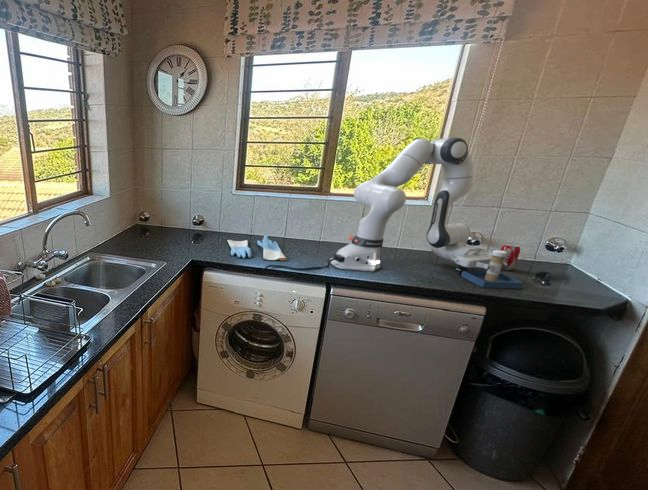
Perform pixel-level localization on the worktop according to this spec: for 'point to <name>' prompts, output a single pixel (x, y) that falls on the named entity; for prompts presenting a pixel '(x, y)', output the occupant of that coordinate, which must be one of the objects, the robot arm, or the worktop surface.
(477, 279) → the blue tray
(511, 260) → the soda can
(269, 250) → the rubber gloves
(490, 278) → the sprinkles bottle
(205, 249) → the worktop surface
